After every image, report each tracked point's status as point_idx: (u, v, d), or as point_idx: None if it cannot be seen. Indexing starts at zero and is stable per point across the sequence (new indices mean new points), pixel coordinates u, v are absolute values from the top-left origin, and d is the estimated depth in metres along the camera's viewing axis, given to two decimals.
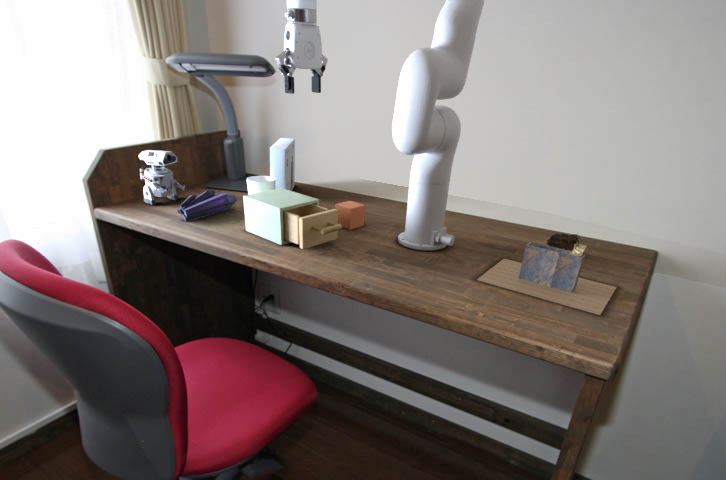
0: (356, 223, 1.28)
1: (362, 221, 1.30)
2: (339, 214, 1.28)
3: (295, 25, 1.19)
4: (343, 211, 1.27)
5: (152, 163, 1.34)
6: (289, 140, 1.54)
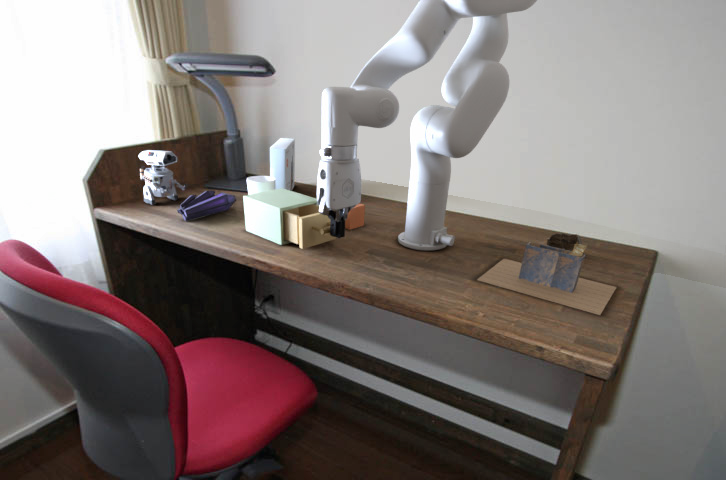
0: (356, 223, 1.28)
1: (362, 221, 1.30)
2: None
3: (332, 165, 0.97)
4: None
5: (152, 163, 1.34)
6: (289, 140, 1.54)
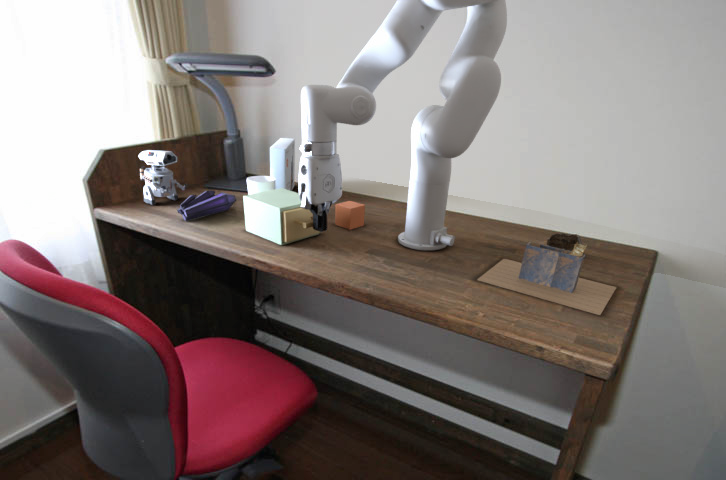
0: (356, 223, 1.28)
1: (362, 221, 1.30)
2: (339, 214, 1.28)
3: (312, 160, 1.00)
4: (343, 211, 1.27)
5: (152, 163, 1.34)
6: (289, 140, 1.54)
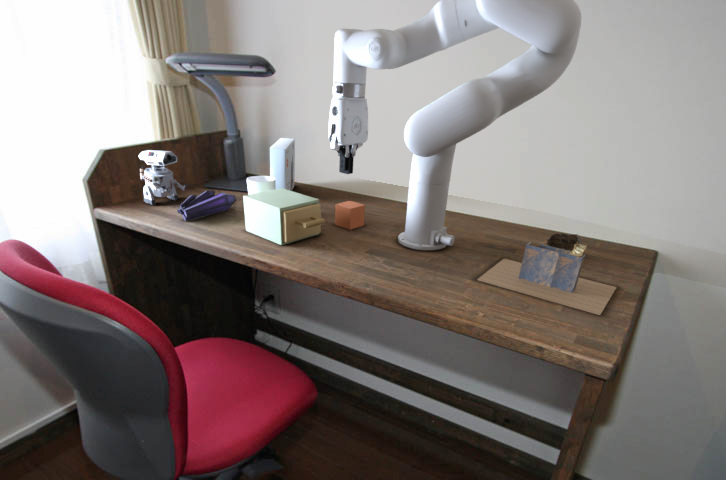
0: (356, 223, 1.28)
1: (362, 221, 1.30)
2: (339, 214, 1.28)
3: (344, 101, 1.07)
4: (343, 211, 1.27)
5: (152, 163, 1.34)
6: (289, 140, 1.54)
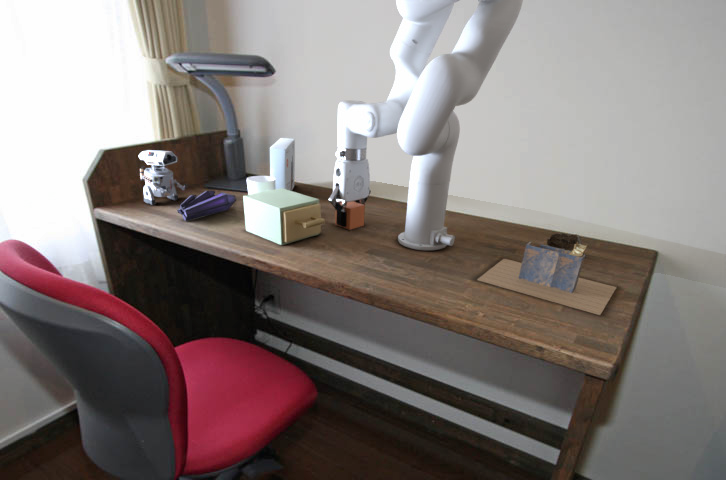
0: (356, 223, 1.28)
1: (362, 221, 1.30)
2: None
3: (346, 164, 1.18)
4: None
5: (152, 163, 1.34)
6: (289, 140, 1.54)
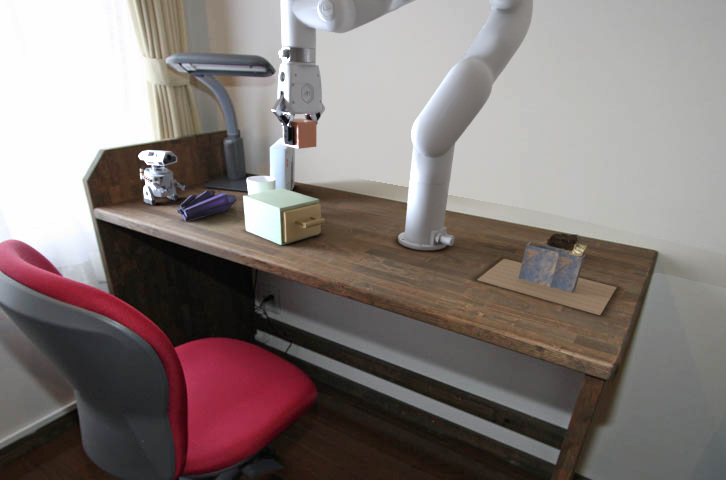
0: (307, 142, 1.12)
1: (314, 141, 1.14)
2: None
3: (291, 66, 1.02)
4: None
5: (152, 163, 1.34)
6: None
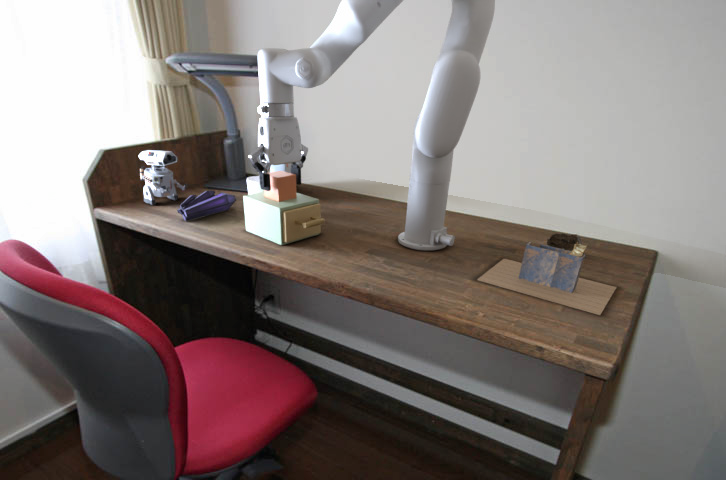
0: (287, 195, 1.16)
1: (294, 193, 1.18)
2: None
3: (269, 121, 1.06)
4: (271, 181, 1.14)
5: (152, 163, 1.34)
6: None
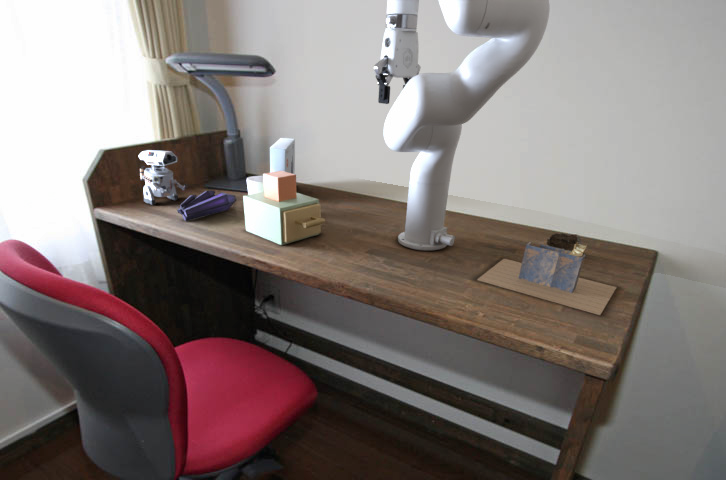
0: (287, 195, 1.16)
1: (294, 193, 1.18)
2: (268, 184, 1.16)
3: (397, 31, 1.11)
4: (271, 181, 1.14)
5: (152, 163, 1.34)
6: (289, 140, 1.54)
